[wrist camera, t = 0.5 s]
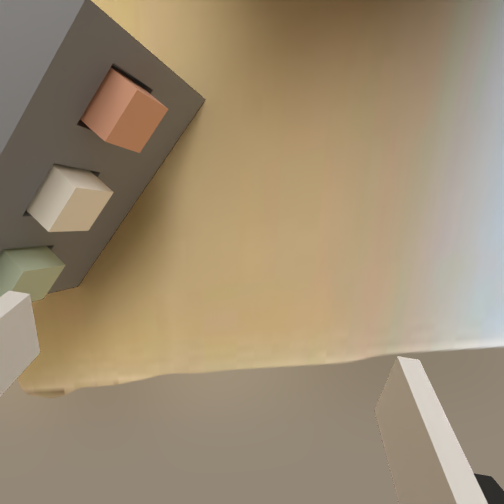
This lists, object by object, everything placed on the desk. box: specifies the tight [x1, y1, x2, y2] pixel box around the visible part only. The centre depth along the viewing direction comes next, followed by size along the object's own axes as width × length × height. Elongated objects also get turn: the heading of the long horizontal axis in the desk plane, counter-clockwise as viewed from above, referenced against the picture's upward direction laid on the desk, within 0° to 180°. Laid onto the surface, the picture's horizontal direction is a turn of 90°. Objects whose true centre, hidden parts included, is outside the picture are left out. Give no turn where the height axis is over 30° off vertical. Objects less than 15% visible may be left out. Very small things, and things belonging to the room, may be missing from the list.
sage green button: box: [0, 246, 65, 302], centre depth 33 cm, size 5×6×5 cm
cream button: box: [26, 163, 114, 232], centre depth 31 cm, size 5×6×5 cm
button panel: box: [0, 0, 205, 294], centre depth 33 cm, size 28×6×18 cm, turn 140°
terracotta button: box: [80, 64, 168, 153], centre depth 29 cm, size 5×6×5 cm
